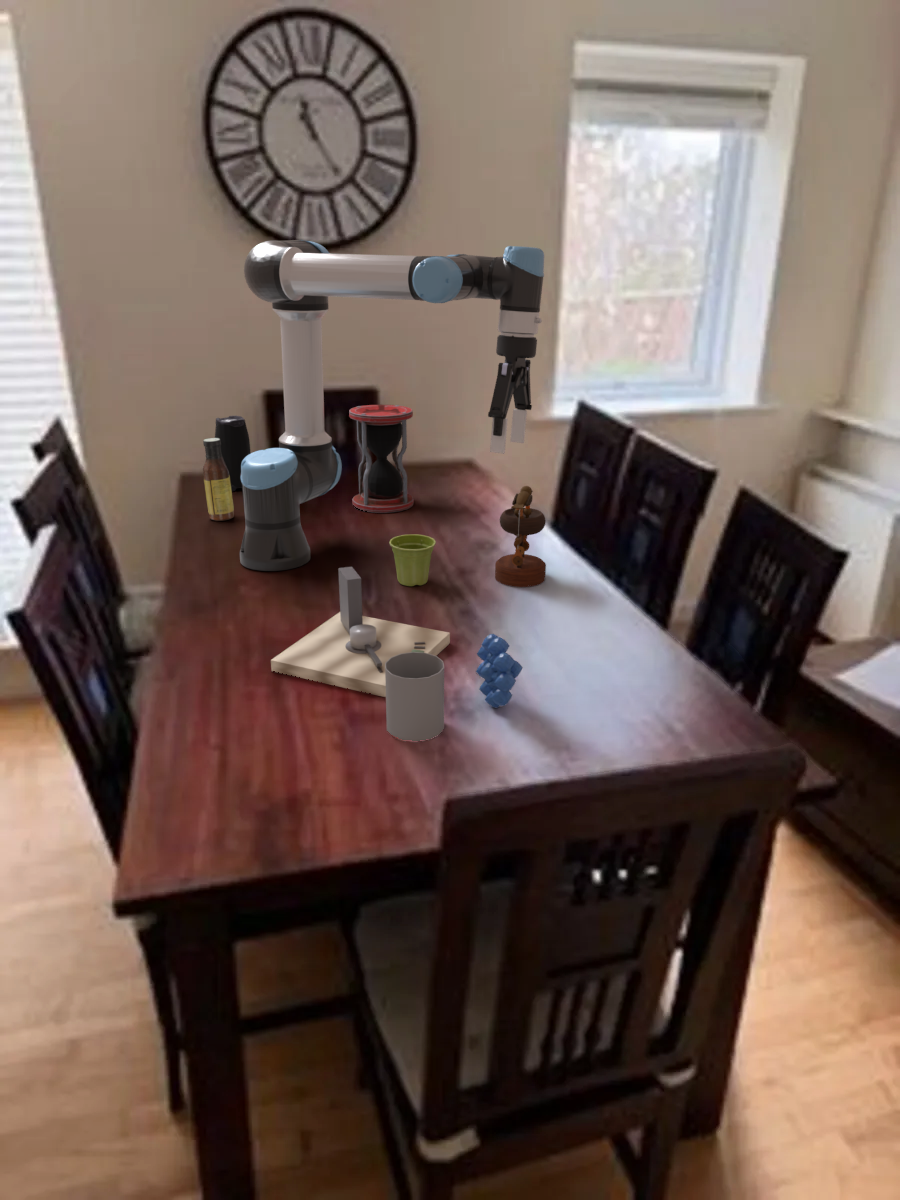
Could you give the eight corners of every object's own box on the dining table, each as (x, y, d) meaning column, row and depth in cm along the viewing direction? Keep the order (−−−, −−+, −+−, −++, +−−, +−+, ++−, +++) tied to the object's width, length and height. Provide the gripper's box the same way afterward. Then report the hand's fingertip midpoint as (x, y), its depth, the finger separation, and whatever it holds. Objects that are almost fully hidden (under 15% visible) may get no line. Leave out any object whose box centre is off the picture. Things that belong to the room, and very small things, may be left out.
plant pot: (443, 577, 183) (443, 538, 180) (423, 592, 176) (422, 551, 172) (403, 570, 187) (402, 531, 184) (381, 585, 179) (381, 545, 176)
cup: (386, 713, 131) (384, 652, 127) (441, 711, 132) (441, 651, 128) (387, 743, 123) (385, 680, 120) (445, 741, 124) (446, 678, 120)
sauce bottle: (239, 516, 223) (232, 437, 215) (225, 522, 217) (218, 443, 210) (216, 513, 225) (209, 435, 217) (202, 520, 219) (194, 440, 212)
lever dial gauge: (392, 665, 140) (391, 607, 136) (366, 669, 139) (364, 611, 135) (359, 618, 158) (357, 565, 154) (335, 621, 156) (332, 568, 152)
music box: (551, 590, 177) (547, 494, 170) (496, 594, 178) (490, 498, 170) (544, 563, 191) (540, 474, 184) (493, 567, 192) (488, 478, 184)
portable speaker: (254, 490, 245) (248, 420, 237) (219, 493, 242) (212, 421, 235) (252, 482, 252) (246, 414, 245) (218, 485, 250) (212, 415, 242)
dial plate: (271, 671, 144) (270, 658, 143) (340, 621, 162) (340, 610, 161) (391, 698, 135) (391, 685, 134) (449, 643, 154) (449, 631, 153)
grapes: (535, 721, 129) (538, 647, 125) (491, 727, 127) (493, 653, 123) (508, 685, 140) (511, 615, 135) (468, 690, 138) (469, 620, 133)
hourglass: (425, 502, 235) (425, 408, 226) (389, 517, 223) (387, 418, 213) (377, 493, 243) (374, 401, 234) (339, 507, 231) (335, 411, 221)
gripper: (518, 339, 154) (507, 459, 161) (552, 334, 176) (541, 440, 183) (477, 335, 156) (468, 454, 163) (516, 331, 178) (507, 436, 185)
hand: (507, 447), depth 173 cm, fingers open, 13 cm apart
